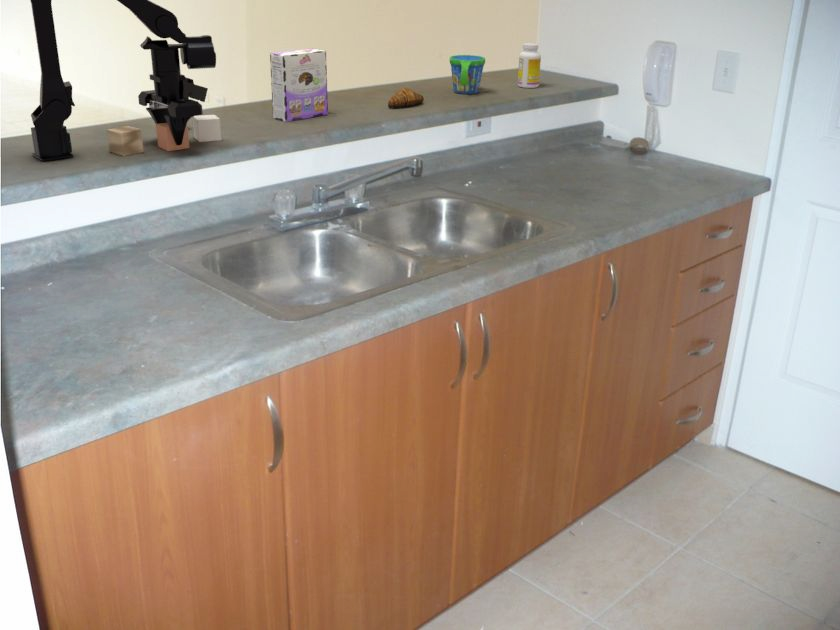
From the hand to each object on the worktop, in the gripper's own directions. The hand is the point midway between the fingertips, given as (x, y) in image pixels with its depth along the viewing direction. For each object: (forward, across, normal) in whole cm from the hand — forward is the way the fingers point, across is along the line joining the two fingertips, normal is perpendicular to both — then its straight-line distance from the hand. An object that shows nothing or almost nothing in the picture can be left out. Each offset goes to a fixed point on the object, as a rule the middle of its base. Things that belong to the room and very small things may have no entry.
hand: (173, 142), depth 195 cm
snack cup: (+1, +12, -101) cm, 102 cm away
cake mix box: (+1, +11, -41) cm, 42 cm away
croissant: (+1, +7, -73) cm, 73 cm away
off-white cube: (+1, +3, -10) cm, 11 cm away
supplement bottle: (+1, +8, -124) cm, 124 cm away
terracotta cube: (+1, 0, 0) cm, 1 cm away
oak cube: (+1, +2, +10) cm, 10 cm away
